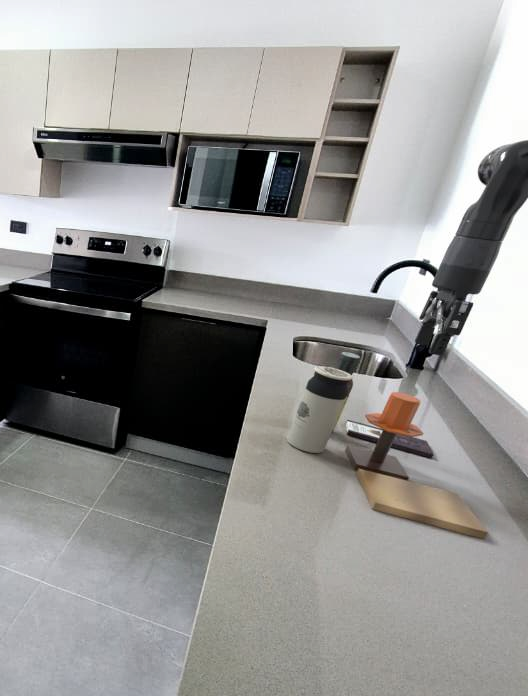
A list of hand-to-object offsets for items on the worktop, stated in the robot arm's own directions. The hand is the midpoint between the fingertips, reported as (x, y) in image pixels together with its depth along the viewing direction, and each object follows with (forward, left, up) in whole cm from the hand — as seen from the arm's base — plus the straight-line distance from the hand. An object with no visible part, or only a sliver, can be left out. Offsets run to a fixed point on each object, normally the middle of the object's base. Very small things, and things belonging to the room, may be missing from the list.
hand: (427, 349), depth 99 cm
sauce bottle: (+9, -15, -27) cm, 32 cm away
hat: (0, 0, -17) cm, 17 cm away
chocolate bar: (-7, -19, -27) cm, 33 cm away
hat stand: (0, 0, -27) cm, 27 cm away
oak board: (-4, +14, -27) cm, 31 cm away
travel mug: (+14, -2, -27) cm, 30 cm away
